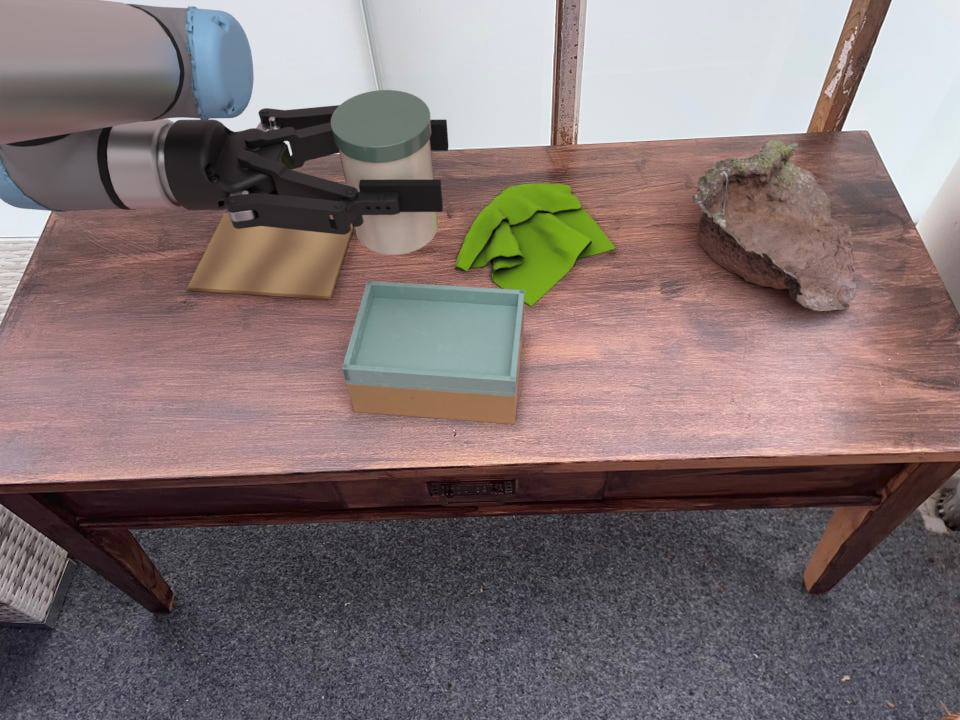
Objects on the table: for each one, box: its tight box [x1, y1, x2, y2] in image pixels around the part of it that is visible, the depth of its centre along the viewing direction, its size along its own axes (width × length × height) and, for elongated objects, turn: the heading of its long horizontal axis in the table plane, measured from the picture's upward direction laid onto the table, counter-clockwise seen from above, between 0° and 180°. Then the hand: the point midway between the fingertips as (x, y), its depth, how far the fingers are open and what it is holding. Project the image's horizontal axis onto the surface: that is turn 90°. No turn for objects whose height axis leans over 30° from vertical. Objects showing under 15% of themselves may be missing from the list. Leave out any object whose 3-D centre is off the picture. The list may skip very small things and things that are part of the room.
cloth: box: [454, 182, 617, 307], centre depth 92 cm, size 20×22×2 cm
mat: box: [187, 212, 355, 300], centre depth 92 cm, size 18×14×1 cm
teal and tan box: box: [341, 280, 525, 425], centre depth 77 cm, size 17×12×8 cm
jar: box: [331, 89, 439, 256], centre depth 62 cm, size 8×8×12 cm
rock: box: [692, 139, 858, 312], centre depth 87 cm, size 26×22×10 cm
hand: (444, 164), depth 61 cm, fingers closed on jar, 8 cm apart
